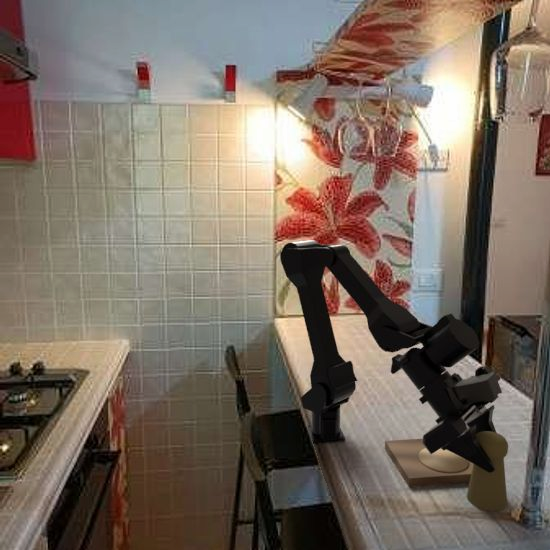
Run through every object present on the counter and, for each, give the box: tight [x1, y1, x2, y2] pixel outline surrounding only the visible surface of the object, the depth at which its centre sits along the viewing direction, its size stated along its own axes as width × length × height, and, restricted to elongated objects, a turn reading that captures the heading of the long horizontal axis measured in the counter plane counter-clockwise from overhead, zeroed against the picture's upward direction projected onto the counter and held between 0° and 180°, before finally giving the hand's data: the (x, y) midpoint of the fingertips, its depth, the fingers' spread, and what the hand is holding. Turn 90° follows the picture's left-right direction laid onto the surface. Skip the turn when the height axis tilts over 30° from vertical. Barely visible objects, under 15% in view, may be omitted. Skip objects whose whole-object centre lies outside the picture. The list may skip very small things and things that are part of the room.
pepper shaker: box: [466, 431, 509, 512], centre depth 85 cm, size 6×6×11 cm
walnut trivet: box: [384, 438, 473, 488], centre depth 97 cm, size 13×14×2 cm
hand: (498, 464), depth 84 cm, fingers closed on pepper shaker, 5 cm apart
